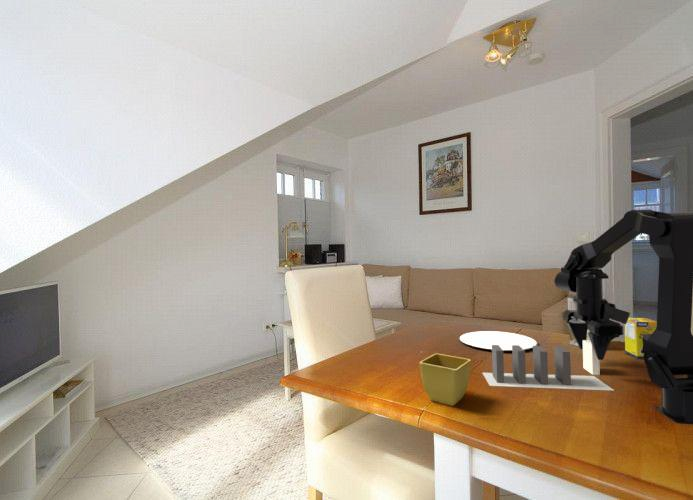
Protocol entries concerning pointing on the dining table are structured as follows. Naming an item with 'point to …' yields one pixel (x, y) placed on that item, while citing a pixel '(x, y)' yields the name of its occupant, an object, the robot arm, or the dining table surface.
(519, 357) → the domino
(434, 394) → the flower pot
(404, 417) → the dining table surface
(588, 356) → the domino
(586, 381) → the runner mat
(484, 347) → the plate
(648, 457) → the dining table surface
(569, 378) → the domino
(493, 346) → the domino
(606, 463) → the dining table surface
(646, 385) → the dining table surface
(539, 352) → the domino
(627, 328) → the supplement box
